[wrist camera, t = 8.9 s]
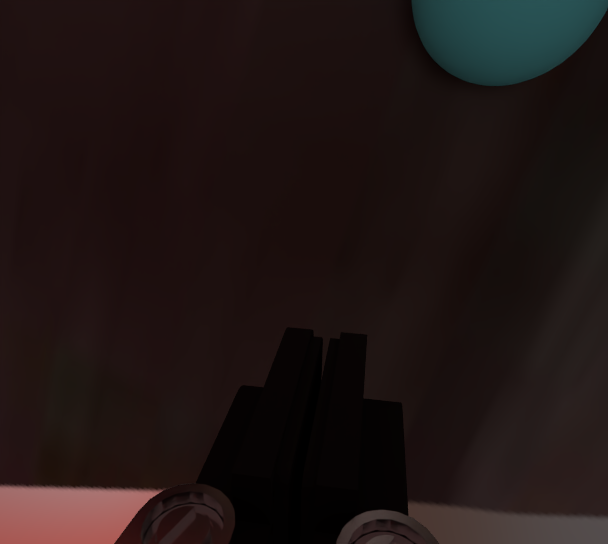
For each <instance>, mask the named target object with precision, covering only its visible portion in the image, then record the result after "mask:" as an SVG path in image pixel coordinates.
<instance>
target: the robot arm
mask: <svg viewBox="0 0 608 544" xmlns="http://www.w3.org/2000/svg"><path fill="white" fill-rule="evenodd" d="M366 345H367V335H364V334H353V333H343V332H341V335H340V339H333V338H330V342H329V347H328V352H327V356H326V361H325V366H324V371H323V376H322V381H321V374H322V347H323V339H322V337H314V334H313V330H310V329H299V328H286V330H285V333H284V336H283V338H282V341H281V343H280V346H279V349H278V351H277V354H276V357H275V359H274V362H273V364H272V367H271V370H270V372H269V375H268V378H267V380H266V383H265V385H264V388H263V387H254V386H245V385H243V386H241V387H240V389H239V390H238V392H237V394H236V396H235V399H234V401H233V403H232V405H231V407H230V409H229V412H228V414H227V416H226V418H225V420H224V423H223V425H222V427H221V429H220V431H219V433H218V436H217V438H216V440H215V442H214V444H213V447H212V449H211V451H210V453H209V455H208V457H207V460H206V462H205V464H204V466H203V468H202V471H201V473H200V475H199V477H198V479H197V481H196V483H191V484H183V485H177V486H175V487H172V488H169V489H166V490H164V491H162V492H160V493H159V494H157V495H156V496H154V497H153V498H151V499H150V500H149V501H148V502H147V503H146V504H145V505H144V506H143V507H142V508H141V509H140V510H139V511H138V513H137V514H136V515H135V517H134V518H133V519H132V521H131V522H130V523H129V525H128V526H127V527H126V529H125V530H124V531H123V533H122V534H121V535H120V537H119V538H118V539H117V541H116V542H115V543H114V544H439V543H438V541H437V540H436V539H435V537H434V536H433V535H432V534H431V533H430V531H429V530H428V529H427V528H426V527H424V526H423V525H422V524H420V523H419V522H418V521H416V520H415V519H414V518H411V517H409V516H408V501H407V483H406V465H405V447H404V429H403V411H402V404H401V403H399V402H390V401H381V400H372V399H363V393H364V377H365V361H366Z"/></svg>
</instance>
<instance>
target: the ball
mask: <svg viewBox="0 0 608 544" xmlns="http://www.w3.org/2000/svg"><path fill="white" fill-rule="evenodd" d="M607 8H608V0H412V11H413V18H414V22H415V26H416V29H417V32H418V35H419V37H420V40H421V42H422V44H423V46H424V47H425V49H426V50H427V52H428V53H429V55H430V56H431V57H432V58H433V59H434V61H435V62H436V63H437V64H438V65H439V66H440V67H442V68H443V69H444V70H445V71H447V72H448V73H450V74H452V75H453V76H455V77H457V78H459V79H461V80H464V81H467V82H469V83H474V84H479V85H484V86H504V85H511V84H517V83H520V82H523V81H527V80H530V79H533V78H535V77H537V76H540V75H542V74H544V73H546V72H548V71H549V70H551V69H553V68H554V67H556V66H557V65H559V64H561V63H562V62H563V61H564V60H566V59H567V58H568V57H569V56H571V55H572V54H573V53H574V52H575V51H576V50H577V49H578V48H579V47H580V46H581V45H582V44H583V43H584V42H585V41H586V40H587V39H588V37H589V36H590V35H591V34H592V32H593V31H594V30H595V28H596V27H597V25H598V24H599V22H600V21H601V19H602V17H603V16H604V14H605V12H606V11H607Z"/></svg>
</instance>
